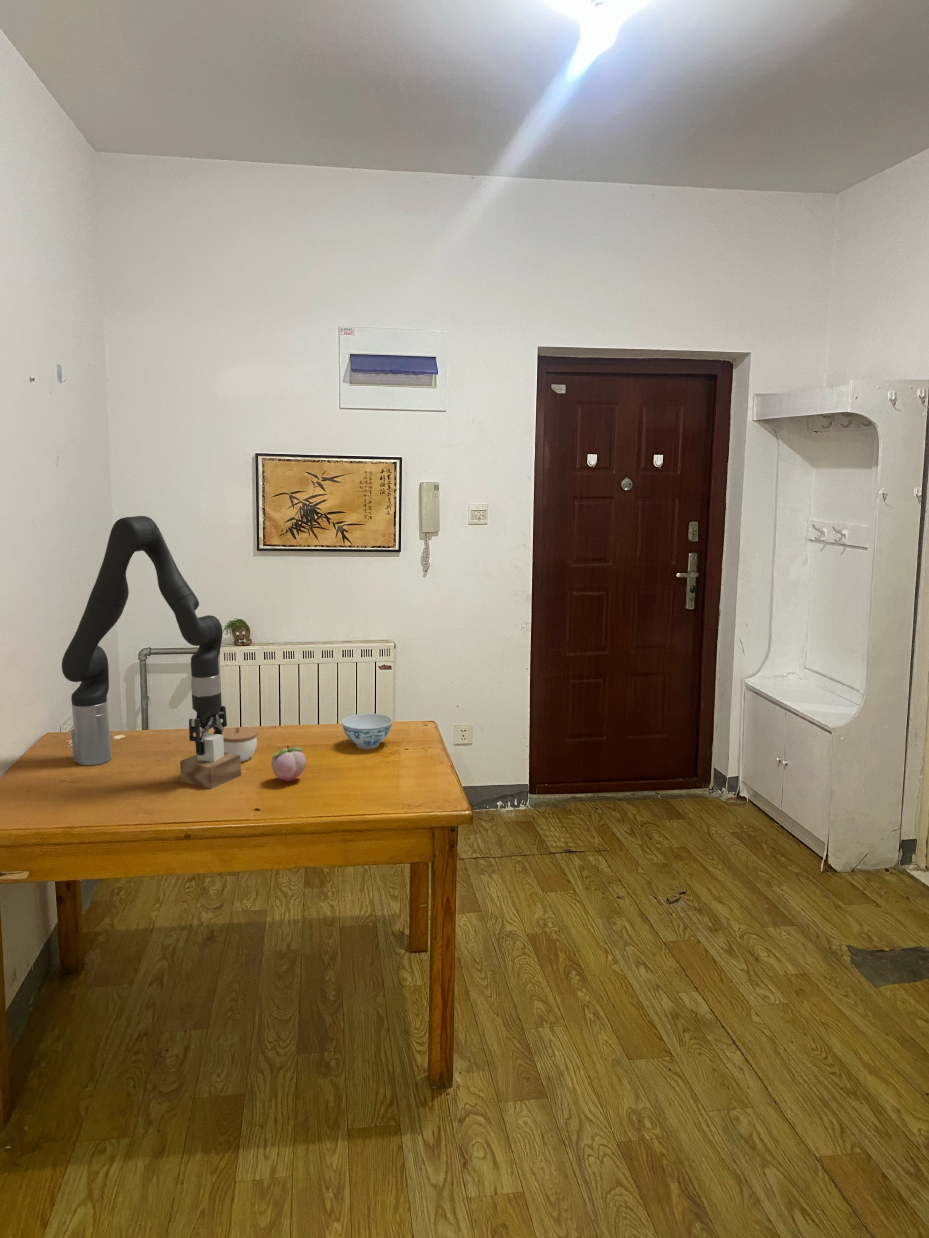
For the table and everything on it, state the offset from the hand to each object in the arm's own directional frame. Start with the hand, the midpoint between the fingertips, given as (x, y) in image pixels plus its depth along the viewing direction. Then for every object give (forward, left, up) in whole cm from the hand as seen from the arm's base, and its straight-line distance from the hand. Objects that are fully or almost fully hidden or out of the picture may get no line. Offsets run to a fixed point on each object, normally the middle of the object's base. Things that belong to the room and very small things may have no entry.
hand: (209, 749), depth 239 cm
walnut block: (0, 0, -8) cm, 8 cm away
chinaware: (+30, +37, -8) cm, 48 cm away
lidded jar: (-1, +16, -8) cm, 18 cm away
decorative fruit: (+21, +4, -8) cm, 23 cm away
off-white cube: (0, 0, -2) cm, 2 cm away
